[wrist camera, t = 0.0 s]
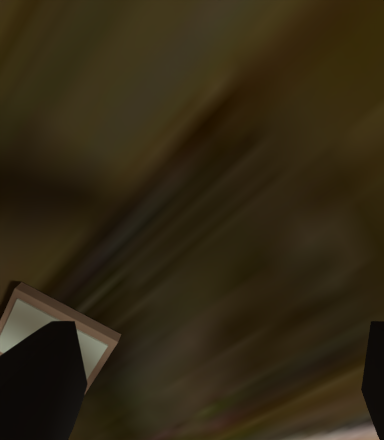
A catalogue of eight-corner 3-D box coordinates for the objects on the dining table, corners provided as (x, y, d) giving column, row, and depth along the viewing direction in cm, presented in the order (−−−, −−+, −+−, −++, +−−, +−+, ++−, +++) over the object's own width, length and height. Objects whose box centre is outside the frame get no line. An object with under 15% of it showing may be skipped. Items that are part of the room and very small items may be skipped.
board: (18, 497, 27) (12, 508, 26) (-61, 461, 26) (-69, 472, 26) (121, 334, 21) (117, 343, 20) (21, 281, 20) (13, 289, 19)
